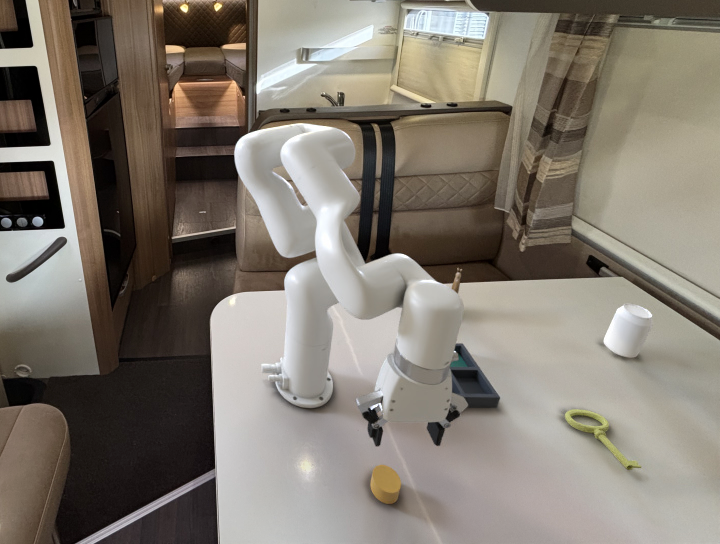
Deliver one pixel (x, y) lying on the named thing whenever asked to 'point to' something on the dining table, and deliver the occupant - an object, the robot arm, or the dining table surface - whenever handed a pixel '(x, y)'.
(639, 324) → the beverage can
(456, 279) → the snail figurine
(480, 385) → the grid
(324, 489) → the dining table surface
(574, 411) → the key
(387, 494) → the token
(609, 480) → the dining table surface
